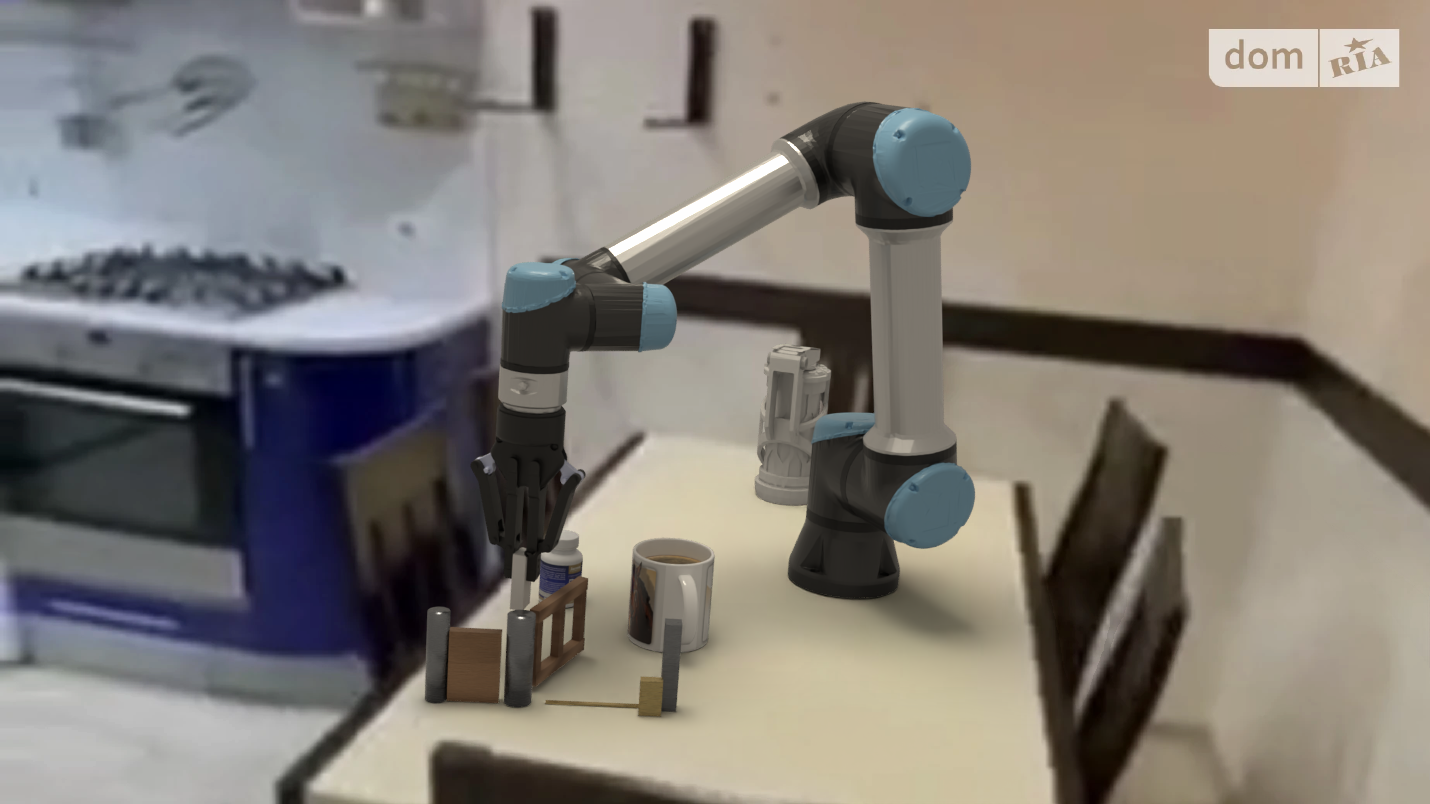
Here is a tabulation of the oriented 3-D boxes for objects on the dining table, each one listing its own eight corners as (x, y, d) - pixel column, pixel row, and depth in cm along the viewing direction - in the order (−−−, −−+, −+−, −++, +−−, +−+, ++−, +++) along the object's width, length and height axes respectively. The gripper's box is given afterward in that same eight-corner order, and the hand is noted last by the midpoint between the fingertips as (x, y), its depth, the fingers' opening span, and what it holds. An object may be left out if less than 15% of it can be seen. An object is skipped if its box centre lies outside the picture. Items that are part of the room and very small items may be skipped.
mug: (724, 632, 194) (731, 547, 192) (691, 667, 183) (698, 577, 180) (644, 616, 197) (650, 532, 195) (607, 650, 186) (612, 561, 184)
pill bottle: (573, 611, 197) (577, 544, 195) (533, 605, 198) (536, 538, 196) (585, 597, 202) (589, 531, 200) (545, 591, 203) (549, 525, 201)
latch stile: (675, 704, 173) (681, 619, 171) (676, 717, 170) (683, 630, 168) (637, 703, 173) (643, 617, 170) (638, 715, 170) (644, 628, 167)
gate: (535, 686, 173) (539, 611, 171) (525, 684, 174) (529, 609, 172) (584, 649, 184) (588, 578, 182) (574, 647, 185) (578, 576, 182)
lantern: (764, 482, 257) (777, 331, 251) (826, 493, 254) (841, 340, 248) (739, 503, 245) (752, 345, 239) (804, 514, 242) (818, 355, 236)
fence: (656, 701, 173) (662, 616, 171) (656, 713, 171) (663, 626, 168) (426, 691, 172) (429, 605, 169) (423, 703, 169) (426, 615, 166)
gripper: (463, 404, 172) (453, 608, 177) (579, 419, 169) (565, 626, 175) (486, 389, 179) (476, 586, 184) (598, 404, 177) (584, 603, 182)
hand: (519, 605), depth 180 cm, fingers closed
